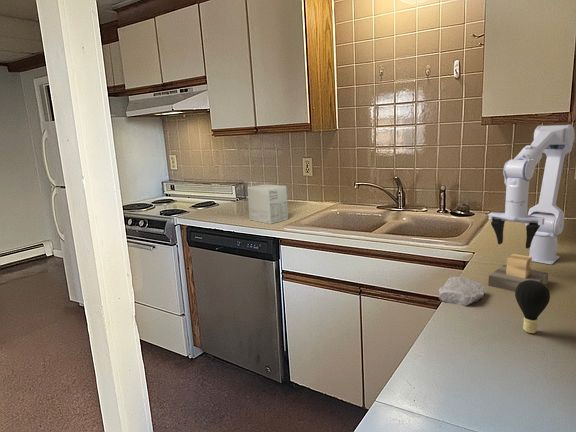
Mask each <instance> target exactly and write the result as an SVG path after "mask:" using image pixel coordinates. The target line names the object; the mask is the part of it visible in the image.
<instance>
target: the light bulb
mask: <svg viewBox="0 0 576 432" xmlns="http://www.w3.org/2000/svg"><path fill="white" fill-rule="evenodd" d="M514 296H515V301H516V302H517V304H518V307H519V308H520V311H521V312H522V313H523V323H522V324H523V325H522V329H523V331H524V332H526V333H528V334H535V333H537V330H538V326H537V325H538V317H539V316H540V315H541V314H542V313H543V312H544V311H545V309H546V308H547V306H548V305H549V303H550V299H551V293H550V289H549V287H547V285H544V284H543V283H541V282H539V281H535V280H526V281H523V282H521V283H519V284H518V286H517V288H516V291H514Z"/></svg>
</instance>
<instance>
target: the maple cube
mask: <svg viewBox="0 0 576 432" xmlns="http://www.w3.org/2000/svg"><path fill="white" fill-rule="evenodd" d="M532 263H533V261H532V257H529V255H522V254H517V253H512V254H511V255H509V256H508V257H507V258H506V265H507V268H506V275H510V276H515V277H520V278H526V277H528V276H529V275H530V274H531V270H532Z"/></svg>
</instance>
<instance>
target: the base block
mask: <svg viewBox="0 0 576 432" xmlns="http://www.w3.org/2000/svg"><path fill="white" fill-rule="evenodd" d="M506 268H507V264H502V265H501V266H499V268H497V269H496V270H495V271H493V272H492V273H491V274H489V275H488V283H487V285H488V286H489V287H494V288H498V289H503V290H506V291H507V290H508V291H512V292H515V291H516V288H517V286H518V284H519V283H521V282H523V281H526V280H535V281H539V282H541V283H543V284H544V285H545V286H547V284H548V279H549V272H545V271H542V270H541V271H540V270H536V269H535V270H534V269H531V274H530V275H529V276H528V277H526V278H520V277H515V276H510V275H506Z"/></svg>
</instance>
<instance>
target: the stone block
mask: <svg viewBox="0 0 576 432" xmlns="http://www.w3.org/2000/svg"><path fill="white" fill-rule="evenodd" d="M484 292H485V286H484V285H483V284H482V283H480V282H478V281H475V280H473V279H470V278H467V277H464V276H463V277H462V276H452V277H449V278H448V279H447V280H446V282H445V284H444V285H443V286H440V287H439V290H438V299H439V300H440V302H442V303H449V304H453V305H454V304H455V305H458V306H461V307H462V306H463V307H467V306H469V305H472V304H473V303H475V302H478V301H479V300H481V299H483V298H484V296H485V293H484Z"/></svg>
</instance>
